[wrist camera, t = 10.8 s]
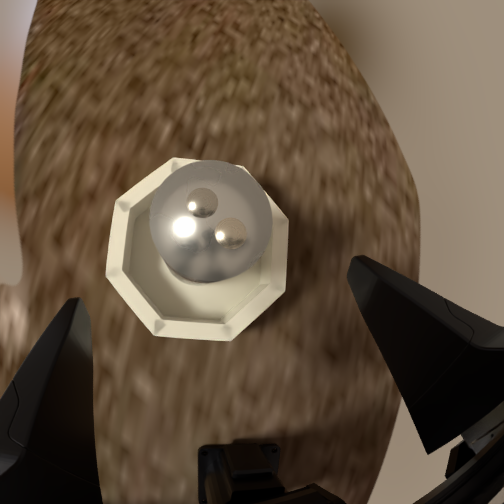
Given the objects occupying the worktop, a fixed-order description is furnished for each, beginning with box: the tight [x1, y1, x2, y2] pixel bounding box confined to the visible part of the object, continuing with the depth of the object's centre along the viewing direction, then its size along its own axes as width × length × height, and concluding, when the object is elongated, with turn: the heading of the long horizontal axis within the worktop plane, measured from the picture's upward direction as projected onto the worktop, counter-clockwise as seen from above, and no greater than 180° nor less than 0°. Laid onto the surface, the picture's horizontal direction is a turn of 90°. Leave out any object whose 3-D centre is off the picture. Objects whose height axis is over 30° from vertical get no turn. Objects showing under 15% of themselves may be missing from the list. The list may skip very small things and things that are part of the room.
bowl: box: [106, 158, 289, 341], centre depth 19 cm, size 11×11×4 cm
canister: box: [149, 160, 273, 286], centre depth 15 cm, size 4×4×10 cm
